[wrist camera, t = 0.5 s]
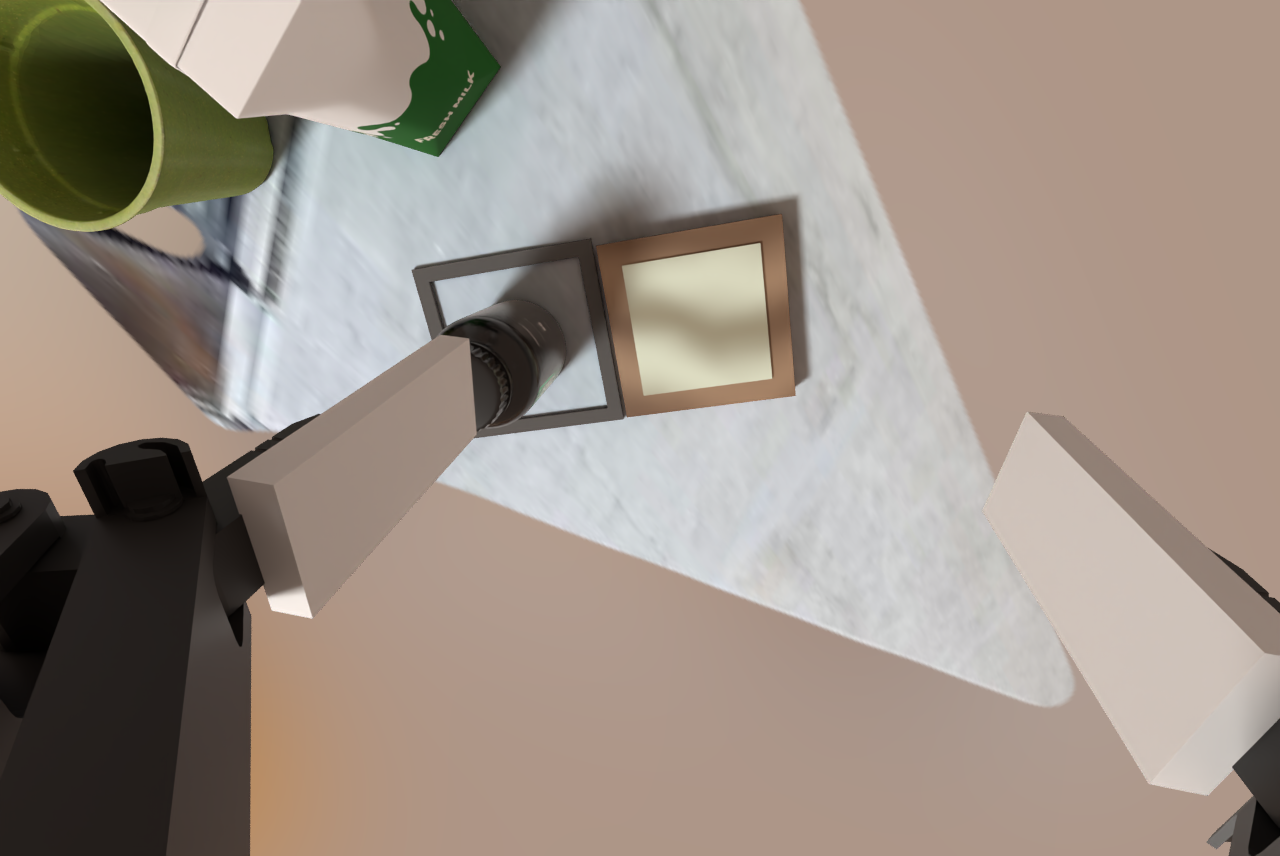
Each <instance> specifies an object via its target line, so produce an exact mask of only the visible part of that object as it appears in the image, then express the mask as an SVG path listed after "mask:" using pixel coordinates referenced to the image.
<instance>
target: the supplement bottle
mask: <svg viewBox="0 0 1280 856" xmlns="http://www.w3.org/2000/svg"><path fill="white" fill-rule="evenodd" d="M439 335H446V336H453V337H461V338H469V343H470V356H471V369H472V381H473V394H474V407H475V419H476V432H478V431H480V430H481V429H484V428H498V427H503V426H506V425H509V424H511V423H513V422H515V421H516V420H518V419H519V418H521V417H522V416H523V415H524V414H525V413H526V412H527V411H528V410H529V409H530V408H531V407H532V406H533V405H534V403H535V402H536V401H537V400H538V399H539V398H540V397H541V395H542V394H543V393H544V392H545V391H546V390H547V388H548V387H549V386H550V385H551V384H552V383H553V381H554V380H555V379H556V378H557V376H558V375H559V373H560V371H561V369H562V367H563V365H564V361H565V356H566V344H565V339H564V335H563V333H562V330H561V328H560V326H559V325H558V323H557V322H556V320H555V319H554V318H553V317H552V315H550V314H549V313H548V312H547V311H546V310H545V309H543V308H542V307H540V306H538V305H536V304H534V303H531V302H528V301H523V300H508V301H504V302H500V303H498V304H495V305H492V306H490V307H488V308H485V309H483V310H481V311H478V312H476V313H474V314H471V315H469V316H466V317H464V318H462V319H460V320H457V321H455V322H453V323H452V324H450V325H448V326H447V327H446V328H444V329H443V330H442V331H441V332H440V333H439V334H438V335H437V337H438V336H439Z"/></svg>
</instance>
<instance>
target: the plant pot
mask: <svg viewBox="0 0 1280 856" xmlns="http://www.w3.org/2000/svg"><path fill="white" fill-rule="evenodd" d="M272 161H273V146H272V143H271V139H270V135H269V130H268V122H267V120H266V118H265V116H260V117H250V118H239V119H237V118H235V117H234V116H233V115H232V114H231V113H229V112H228V111H227V110H226V109H225V108H224V107H223V106H221V105H220V104H219V103H218V102H217V101H216V100H215V99H214V98H212V97H211V96H210V95H209V94H208V93H207V92H206V91H205V90H203V89H202V88H201V87H200V86H199V85H198V84H197V83H196V82H194V81H193V80H192V79H191V78H190V77H189V76H187V75H186V74H184V73H182V72H181V71H179V70H177V69H176V68H174V67H173V66H171V65H170V64H169V63H167V62H166V61H165V60H164V59H163V58H162V57H161V56H159V55H158V54H157V53H156V52H155V51H154V50H153V49H152V48H151V47H150V46H149V45H148V44H147V43H146V41H145V40H144V39H143V38H141V37H140V36H139V35H138V34H137V33H136V32H135V31H133V30H132V29H131V28H130V27H129V26H128V25H127V24H126V23H125V22H123V21H122V20H121V19H120V18H119V17H118V16H117V15H116V14H115V13H113V12H112V11H111V10H110V9H109V8H108V7H107V6H106V5H105V4H104V3H102V2H101V1H100V0H0V194H1V195H2V196H3V197H5V198H6V199H7V200H9V201H10V202H11V203H12V204H13V205H15V206H16V207H18V208H19V209H20V210H22V211H24V212H25V213H27V214H29V215H30V216H32V217H34V218H36V219H38V220H40V221H42V222H45V223H47V224H50V225H53V226H55V227H59V228H62V229H67V230H74V231H100V230H106V229H110V228H114V227H116V226H119V225H121V224H123V223H125V222H127V221H128V220H130V219H132V218H133V217H134V216H135V215H138V214H142V213H146V212H149V211H151V210H154V209H156V208H159V207H165V206H172V205H178V204H185V203H192V202H199V201H205V200H212V199H218V198H226V197H232V196H238V195H243V194H246V193H249V192H251V191H253V190H254V189H255V188H257V187H258V186H259V185H261V184H262V183H263V181H264V180H265V179H266V177H267V175H268V173H269V171H270V168H271V165H272Z"/></svg>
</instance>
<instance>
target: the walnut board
mask: <svg viewBox="0 0 1280 856" xmlns="http://www.w3.org/2000/svg"><path fill="white" fill-rule="evenodd" d="M596 249H597V255H598V260H599V266H600V271H601V277H602V282H603V288H604V293H605V299H606V304H607V310H608V315H609V321H610V326H611V332H612V338H613V343H614V349H615V354H616V360H617V365H618V371H619V376H620V382H621V387H622V393H623V398H624V404H625V409H626V415H627V417H633V416H641V415H649V414H657V413H664V412H672V411H680V410H688V409H696V408H704V407H711V406H719V405H727V404H735V403H743V402H750V401H758V400H766V399H774V398H782V397H790V396H796V395H795V382H794V368H793V355H792V341H791V328H790V315H789V301H788V288H787V275H786V261H785V248H784V234H783V221H782V214H777V215H772V216H766V217H760V218H754V219H748V220H742V221H737V222H731V223H725V224H719V225H713V226H708V227H702V228H696V229H690V230H684V231H679V232H673V233H667V234H661V235H655V236H649V237H644V238H638V239H632V240H626V241H620V242H615V243H609V244H603V245H598V246H596Z"/></svg>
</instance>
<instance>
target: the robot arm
mask: <svg viewBox="0 0 1280 856" xmlns="http://www.w3.org/2000/svg"><path fill="white" fill-rule="evenodd" d="M476 435H477V432H476V419H475V407H474V394H473V381H472V369H471V356H470V343H469V338H461V337H453V336H446V335H439V336H438V337H436V338H435V339H433V340H432V341H430V342H429V343H427V344H426V345H424V346H423V347H421V348H420V349H418V350H417V351H415V352H414V353H412V354H411V355H409V356H408V357H406V358H405V359H403V360H402V361H400V362H399V363H397V364H396V365H394V366H393V367H391V368H390V369H388V370H387V371H385V372H384V373H382V374H381V375H379V376H378V377H376V378H375V379H373V380H372V381H370V382H369V383H367V384H366V385H364V386H363V387H361V388H360V389H358V390H357V391H355V392H354V393H352V394H351V395H349V396H348V397H346V398H345V399H343V400H342V401H340V402H339V403H337V404H336V405H334V406H333V407H331V408H330V409H328V410H327V411H325V412H324V413H322V414H317V415H315V416H312V417H309V418H307V419H304V420H301V421H299V422H296V423H293V424H291V425H290V426H288V427H287V428H285V429H284V430H282V431H281V432H279V433H277V434H276V435H274V436H273V437H272V440H267V441H265V442H263V443H262V444H260V445H259V446H257V447H256V448H255V451H250V452H248V453H246V454H245V455H243V456H242V457H240V458H239V459H237V460H236V461H234V462H233V463H231V464H229V465H228V466H226V467H225V468H223V469H222V470H220V471H219V472H217V473H216V474H214V475H213V476H211V477H210V478H208V479H206V480H205V481H203V482H202V480H201V477H200V474H199V472H198V469H197V466H196V464H195V461H194V458H193V455H192V453H191V450H190V447H189V445H188V444H187V443H185V442H183V441H181V440H178V439H169V438H153V439H142V440H137V441H133V442H128V443H124V444H119V445H116V446H113V447H111V448H108V449H105V450H102V451H100V452H97V453H96V454H94V455H92V456H90V457H89V458H87V459H85V460H83V461H82V462H81V463H80V464H79V465H78V466H77V467H76V468H75V470H73V472H74V474H75V476H76V478H77V480H78V482H79V484H80V486H81V488H82V490H83V492H84V494H85V496H86V498H87V500H88V502H89V504H90V507H91V508H92V511H93V513H94V515H76V516H60V515H59V514H58V512H57V510H56V508H55V506H54V504H53V502H52V500H51V498H50V497H49V495H48V493H46V492H43V491H40V490H36V489H15V490H9V491H2V492H0V856H250V757H251V749H250V748H251V614H250V611H249V609H248V606H247V603H246V601H247V599H249V598H250V596H252V595H253V594H254V593H255V592H256V591H257V590H258V589H259V588H260V587H261V586H264V589H265V592H266V594H267V597H268V600H269V603H270V606H271V609H272V611H277V612H282V613H287V614H292V615H297V616H302V617H307V618H312V619H313V618H314V617H315V615H316V614H317V613H318V612H319V611H320V610H321V609H322V608H323V606H324V605H325V604H326V603H327V602H328V601H329V600H330V599H331V597H332V596H333V595H334V594H335V593H336V592H337V591H338V589H340V587H341V586H342V585H343V584H344V583H345V582H346V581H347V579H348V578H349V577H350V576H351V575H352V574H353V573H354V572H355V570H356V569H357V568H358V567H359V566H360V565H361V564H362V563H363V562H364V560H365V559H366V558H367V557H368V556H369V555H370V554H371V553H372V551H373V550H374V549H375V548H376V547H377V546H378V545H379V544H380V542H381V541H382V540H383V539H384V538H385V537H386V536H387V535H388V533H389V532H390V531H391V530H392V529H393V528H394V527H395V526H396V525H397V523H398V522H399V521H400V520H401V519H402V518H403V517H404V516H405V514H406V513H407V512H408V511H409V510H410V509H411V508H412V507H413V505H414V504H415V503H416V502H417V501H418V500H419V499H420V497H421V496H422V495H423V494H424V493H425V492H426V491H427V490H428V489H429V487H430V486H431V485H432V484H433V483H434V482H435V481H436V480H437V478H438V477H439V476H440V475H441V474H442V473H443V472H444V471H445V469H446V468H447V467H448V466H449V465H450V464H451V463H452V462H453V461H454V459H455V458H456V457H457V456H458V455H459V454H460V453H461V452H462V450H463V449H464V448H465V447H466V446H467V445H468V444H469V443H470V441H471V440H472V439H473V438H474V437H475V436H476ZM982 512H983V513H984V515H985V516H986V518H987V520H988V521H989V523H990V525H991V526H992V528H993V530H994V531H995V533H996V534H997V536H998V538H999V539H1000V541H1001V543H1002V544H1003V546H1004V548H1005V549H1006V551H1007V552H1008V554H1009V556H1010V557H1011V559H1012V561H1013V562H1014V564H1015V566H1016V567H1017V569H1018V570H1019V572H1020V574H1021V575H1022V577H1023V579H1024V580H1025V582H1026V584H1027V585H1028V587H1029V588H1030V590H1031V592H1032V593H1033V595H1034V597H1035V598H1036V600H1037V602H1038V603H1039V605H1040V606H1041V608H1042V610H1043V611H1044V613H1045V615H1046V616H1047V618H1048V620H1049V621H1050V623H1051V624H1052V626H1053V628H1054V629H1055V631H1056V633H1057V634H1058V636H1059V638H1060V639H1061V641H1062V642H1063V644H1064V646H1065V647H1066V649H1067V651H1068V652H1069V654H1070V655H1071V657H1072V659H1073V660H1074V662H1075V664H1076V665H1077V667H1078V669H1079V670H1080V672H1081V673H1082V675H1083V677H1084V678H1085V680H1086V682H1087V683H1088V685H1089V687H1090V688H1091V690H1092V692H1093V693H1094V695H1095V696H1096V698H1097V700H1098V701H1099V703H1100V705H1101V706H1102V708H1103V710H1104V711H1105V713H1106V714H1107V716H1108V718H1109V719H1110V721H1111V723H1112V724H1113V726H1114V728H1115V729H1116V731H1117V732H1118V734H1119V736H1120V737H1121V739H1122V741H1123V742H1124V744H1125V745H1126V747H1127V749H1128V750H1129V752H1130V754H1131V755H1132V757H1133V759H1134V760H1135V762H1136V763H1137V765H1138V767H1139V768H1140V770H1141V772H1142V773H1143V775H1144V777H1145V778H1146V780H1147V782H1148V783H1149V784H1151V785H1157V786H1161V787H1167V788H1172V789H1177V790H1182V791H1187V792H1193V793H1197V794H1202V795H1207V796H1208V795H1209V794H1210V793H1211V792H1212V791H1213V790H1214V789H1215V788H1216V787H1217V786H1218V785H1219V783H1220V782H1221V781H1222V780H1223V779H1225V777H1226V776H1227V775H1228V774H1229V773H1230V772H1231V771H1232V770H1233V769H1234V770H1235V772H1236V773H1237V774H1238V776H1239V777H1240V778H1241V779H1242V781H1243V782H1244V783H1245V785H1246V786H1247V787H1248V789H1249V790H1250V791H1251V793H1252V794H1253V795H1254V796H1253V797H1252V798H1251V799H1250V800H1248V802H1246V803H1245V804H1244V805H1243V806H1242V807H1241V808H1240V809H1239V810H1238V811H1237V812H1236V813H1235V814H1234V815H1233V816H1232V817H1230V818H1229V819H1228V820H1227V821H1226V822H1225V823H1224V824H1223V825H1222V826H1221V827H1220V828H1219V829H1218V830H1217V831H1216V832H1215V833H1214V834H1213V835H1212V836H1211V837H1210V838H1209V840H1208V841H1207V843H1208V844H1210V845H1211V846H1213V847H1214V848H1216V849H1217V848H1218V847H1220V846H1221V845H1222V844H1223V843H1224V842H1231V847H1230V852H1229V856H1280V603H1279V602H1278V601H1277V600H1276V599H1275V598H1271V597H1269V595H1268V594H1269V593H1268V592H1267V591H1266V590H1265V589H1264V588H1263V587H1262V586H1260V585H1259V584H1258V583H1257V582H1256V581H1255V580H1254V579H1253V578H1251V577H1250V576H1249V575H1248V574H1247V573H1246V572H1245V571H1244V570H1243V569H1241V568H1239V567H1238V566H1236V565H1234V564H1233V563H1231V562H1230V561H1228V560H1226V559H1225V558H1223V557H1222V556H1220V555H1218V554H1217V553H1215V552H1213V551H1212V550H1211V549H1209V548H1207V547H1206V546H1205V545H1204V544H1203V543H1202V542H1201V541H1200V540H1199V539H1197V538H1196V537H1195V536H1194V535H1193V534H1192V533H1191V532H1190V531H1189V530H1188V529H1187V528H1185V527H1184V526H1183V525H1182V524H1181V523H1180V522H1179V521H1178V520H1177V519H1175V518H1174V517H1173V516H1172V515H1171V514H1170V513H1169V512H1168V511H1167V510H1166V509H1165V508H1164V507H1162V506H1161V505H1160V504H1159V503H1158V502H1157V501H1156V500H1155V499H1153V498H1152V497H1151V496H1150V495H1149V494H1148V493H1147V492H1146V491H1145V490H1144V489H1143V488H1142V487H1140V486H1139V485H1138V484H1137V483H1136V482H1135V481H1134V480H1133V479H1132V478H1131V477H1129V476H1128V475H1127V474H1126V473H1125V472H1124V471H1123V470H1122V469H1121V468H1120V467H1118V465H1116V464H1115V463H1114V462H1113V461H1112V460H1111V459H1110V458H1109V457H1107V455H1105V454H1104V453H1103V452H1102V451H1101V450H1100V449H1099V448H1098V447H1097V446H1096V445H1094V444H1093V443H1092V442H1091V441H1090V440H1089V439H1088V438H1087V437H1086V436H1085V435H1083V434H1082V433H1081V432H1080V431H1079V430H1078V429H1077V428H1076V427H1075V426H1074V425H1072V424H1071V423H1070V422H1069V421H1068V420H1067V419H1066V418H1065V417H1064V416H1056V415H1048V414H1041V413H1033V412H1027V413H1026V415H1025V417H1024V420H1023V422H1022V424H1021V426H1020V428H1019V430H1018V433H1017V435H1016V437H1015V439H1014V442H1013V444H1012V446H1011V448H1010V450H1009V453H1008V455H1007V457H1006V459H1005V461H1004V464H1003V466H1002V468H1001V470H1000V472H999V475H998V477H997V479H996V481H995V484H994V486H993V488H992V490H991V492H990V495H989V497H988V499H987V501H986V504H985V506H984V508H983V510H982Z"/></svg>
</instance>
